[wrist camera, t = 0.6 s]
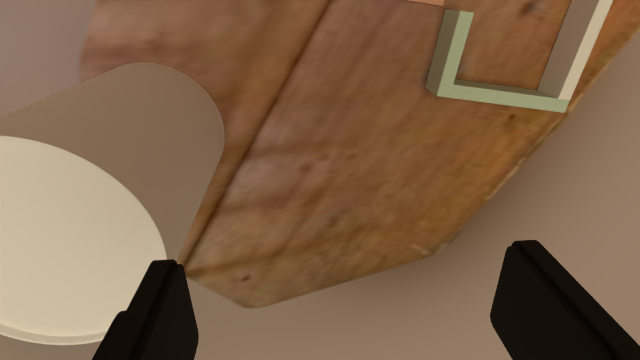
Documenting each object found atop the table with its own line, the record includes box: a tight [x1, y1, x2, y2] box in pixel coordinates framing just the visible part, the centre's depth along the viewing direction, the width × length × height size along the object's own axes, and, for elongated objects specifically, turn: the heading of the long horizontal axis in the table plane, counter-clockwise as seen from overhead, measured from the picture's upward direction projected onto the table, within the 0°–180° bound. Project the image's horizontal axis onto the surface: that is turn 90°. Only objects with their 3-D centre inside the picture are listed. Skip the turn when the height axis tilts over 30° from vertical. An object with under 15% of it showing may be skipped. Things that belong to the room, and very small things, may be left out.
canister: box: [0, 62, 225, 345], centre depth 29 cm, size 14×14×20 cm
